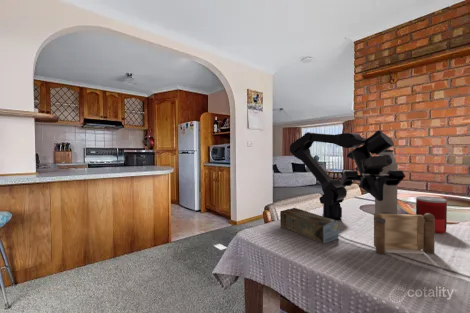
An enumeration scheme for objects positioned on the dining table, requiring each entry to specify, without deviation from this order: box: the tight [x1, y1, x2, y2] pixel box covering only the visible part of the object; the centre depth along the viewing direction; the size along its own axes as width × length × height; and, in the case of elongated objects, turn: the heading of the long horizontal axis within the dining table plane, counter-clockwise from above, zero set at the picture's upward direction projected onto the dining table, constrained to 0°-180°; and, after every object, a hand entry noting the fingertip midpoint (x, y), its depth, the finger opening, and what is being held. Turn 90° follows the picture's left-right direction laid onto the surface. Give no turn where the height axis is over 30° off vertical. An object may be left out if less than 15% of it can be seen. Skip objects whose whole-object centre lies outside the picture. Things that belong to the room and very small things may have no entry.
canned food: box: [415, 195, 448, 235], centre depth 77 cm, size 8×8×11 cm
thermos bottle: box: [374, 149, 399, 214], centre depth 96 cm, size 8×8×28 cm
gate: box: [373, 213, 424, 251], centre depth 62 cm, size 12×1×9 cm, turn 83°
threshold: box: [385, 248, 425, 255], centre depth 62 cm, size 10×3×1 cm, turn 84°
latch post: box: [375, 218, 386, 255], centre depth 61 cm, size 2×2×9 cm
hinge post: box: [422, 213, 436, 255], centre depth 61 cm, size 2×2×11 cm
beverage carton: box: [279, 207, 340, 244], centre depth 77 cm, size 8×19×7 cm, turn 32°
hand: (380, 200), depth 71 cm, fingers closed
